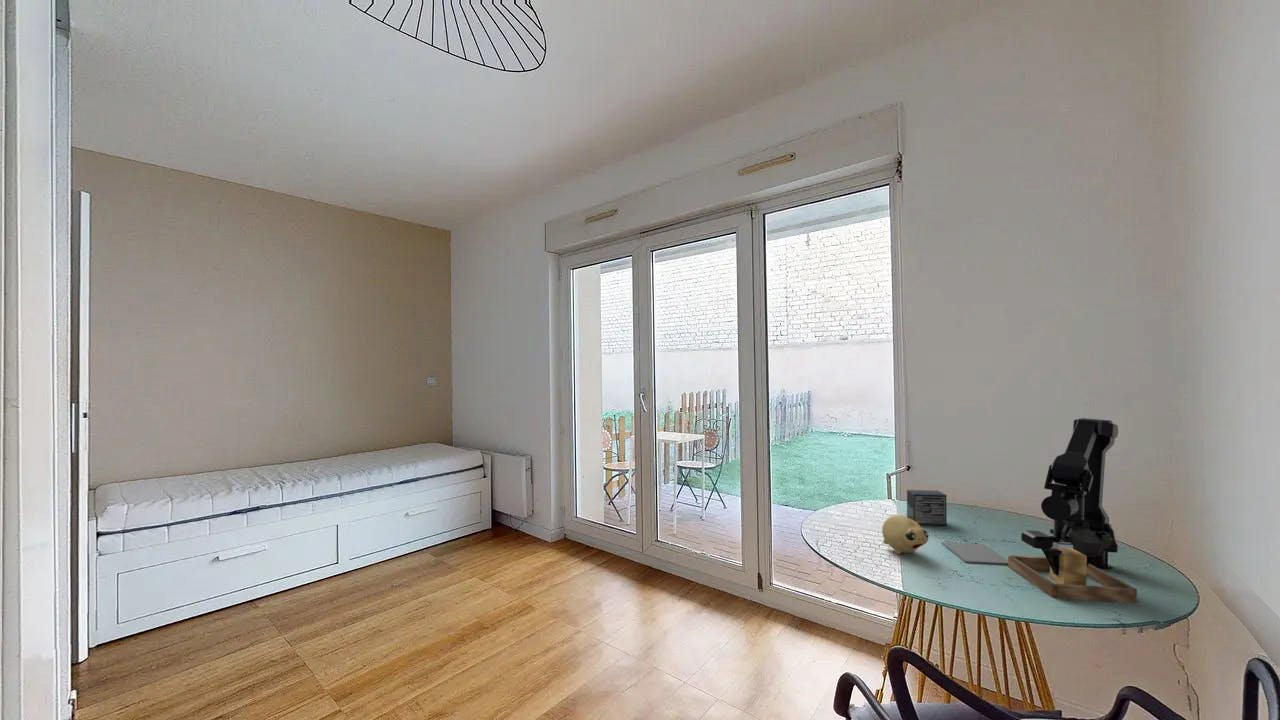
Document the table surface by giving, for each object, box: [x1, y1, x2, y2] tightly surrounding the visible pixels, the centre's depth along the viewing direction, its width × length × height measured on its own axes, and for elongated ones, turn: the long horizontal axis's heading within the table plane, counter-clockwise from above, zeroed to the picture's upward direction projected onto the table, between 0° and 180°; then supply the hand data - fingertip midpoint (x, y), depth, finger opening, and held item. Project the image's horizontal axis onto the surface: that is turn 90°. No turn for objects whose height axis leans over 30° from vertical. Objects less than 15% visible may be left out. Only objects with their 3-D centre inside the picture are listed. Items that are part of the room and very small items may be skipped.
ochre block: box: [1049, 547, 1087, 586], centre depth 127 cm, size 5×5×8 cm
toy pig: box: [881, 513, 930, 555], centre depth 146 cm, size 10×12×11 cm
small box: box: [906, 489, 948, 527], centre depth 172 cm, size 11×6×10 cm, turn 84°
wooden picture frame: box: [1007, 554, 1138, 604], centre depth 127 cm, size 18×18×3 cm
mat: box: [940, 541, 1008, 566], centre depth 145 cm, size 12×14×1 cm
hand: (1067, 575), depth 127 cm, fingers closed on ochre block, 5 cm apart
